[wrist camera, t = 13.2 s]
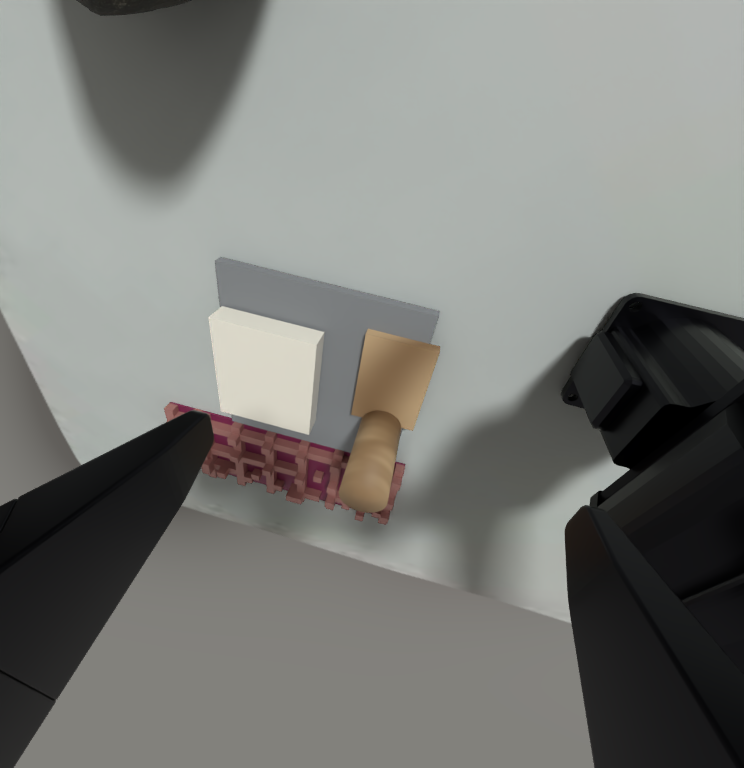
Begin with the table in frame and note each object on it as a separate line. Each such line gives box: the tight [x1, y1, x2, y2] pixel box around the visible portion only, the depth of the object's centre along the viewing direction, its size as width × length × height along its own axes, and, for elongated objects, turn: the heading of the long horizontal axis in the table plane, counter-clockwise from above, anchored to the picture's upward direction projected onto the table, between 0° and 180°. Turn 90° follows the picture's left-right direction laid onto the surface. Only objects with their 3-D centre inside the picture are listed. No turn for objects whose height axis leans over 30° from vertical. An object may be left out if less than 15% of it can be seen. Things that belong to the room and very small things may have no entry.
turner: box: [339, 329, 440, 513], centre depth 20 cm, size 4×8×6 cm, turn 170°
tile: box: [208, 306, 324, 435], centre depth 22 cm, size 2×7×6 cm
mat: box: [215, 257, 439, 453], centre depth 23 cm, size 12×12×1 cm
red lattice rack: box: [164, 402, 405, 525], centre depth 29 cm, size 7×19×2 cm, turn 80°
